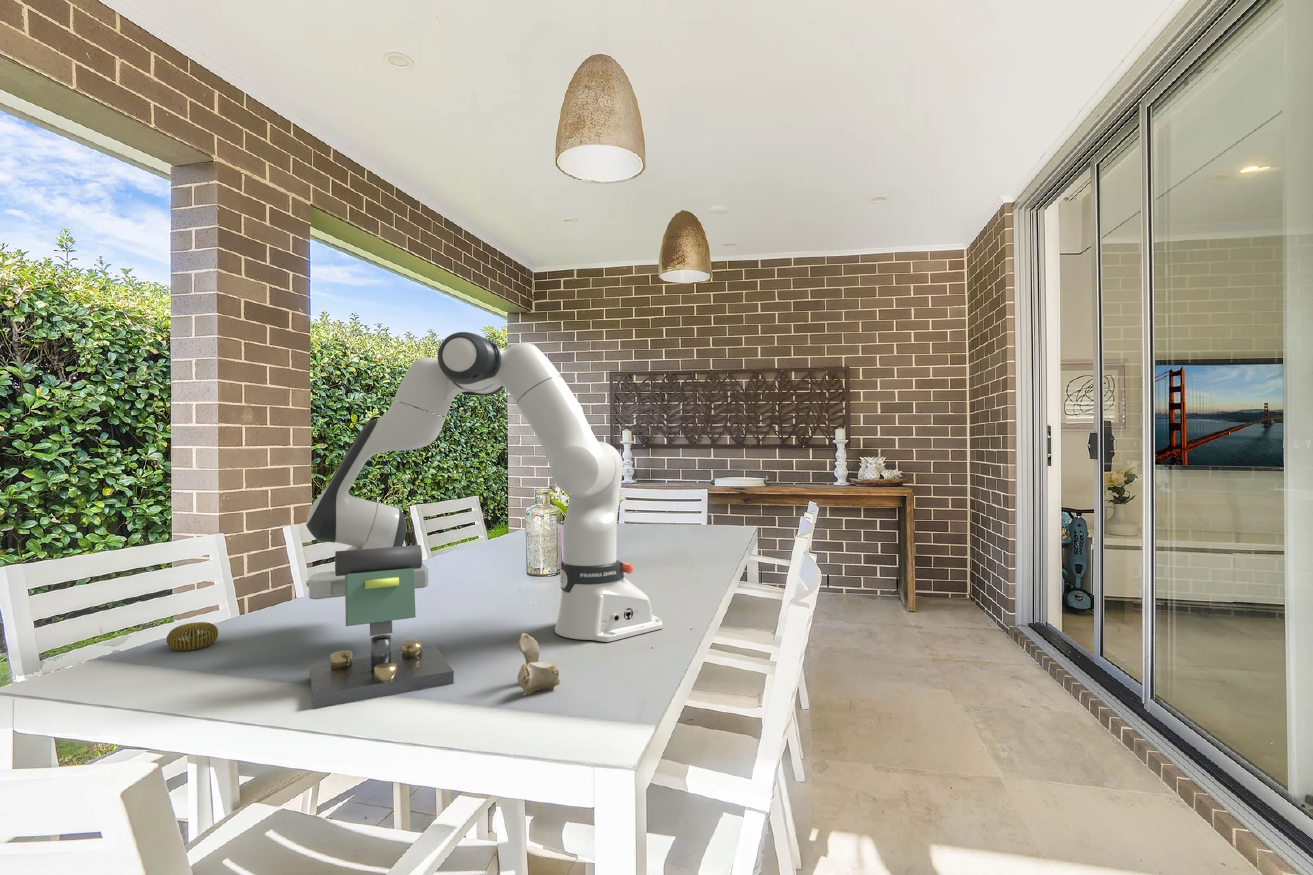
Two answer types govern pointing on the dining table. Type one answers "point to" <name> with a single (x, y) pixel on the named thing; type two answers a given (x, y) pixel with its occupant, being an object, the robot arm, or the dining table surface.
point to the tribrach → (378, 673)
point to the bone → (535, 668)
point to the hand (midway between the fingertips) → (374, 589)
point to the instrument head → (379, 585)
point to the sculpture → (192, 636)
